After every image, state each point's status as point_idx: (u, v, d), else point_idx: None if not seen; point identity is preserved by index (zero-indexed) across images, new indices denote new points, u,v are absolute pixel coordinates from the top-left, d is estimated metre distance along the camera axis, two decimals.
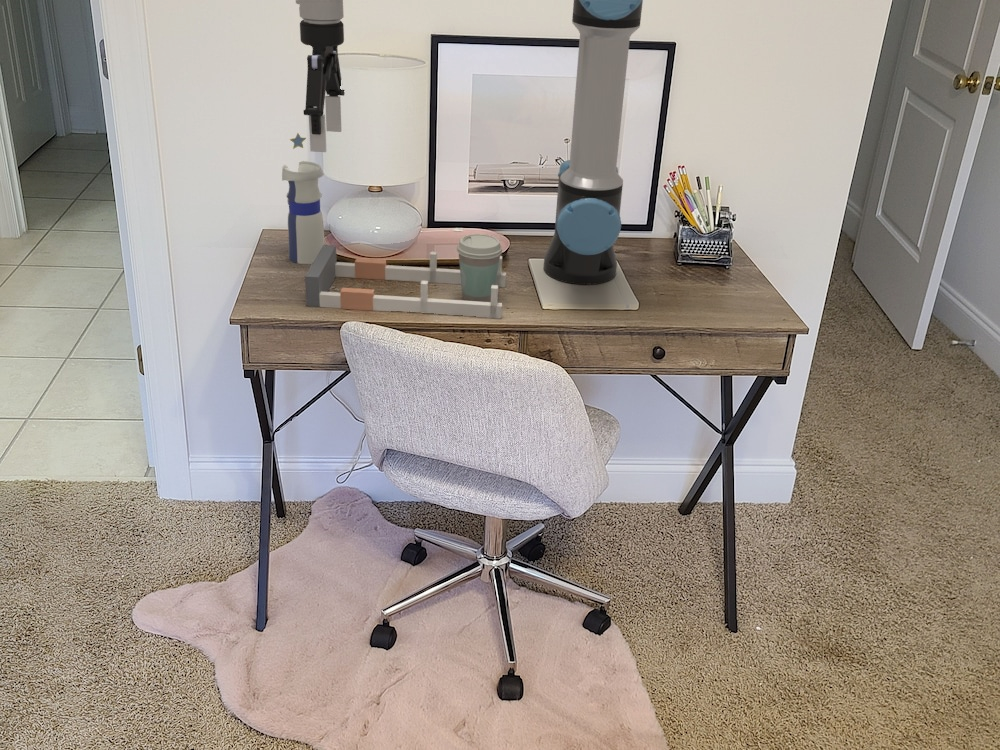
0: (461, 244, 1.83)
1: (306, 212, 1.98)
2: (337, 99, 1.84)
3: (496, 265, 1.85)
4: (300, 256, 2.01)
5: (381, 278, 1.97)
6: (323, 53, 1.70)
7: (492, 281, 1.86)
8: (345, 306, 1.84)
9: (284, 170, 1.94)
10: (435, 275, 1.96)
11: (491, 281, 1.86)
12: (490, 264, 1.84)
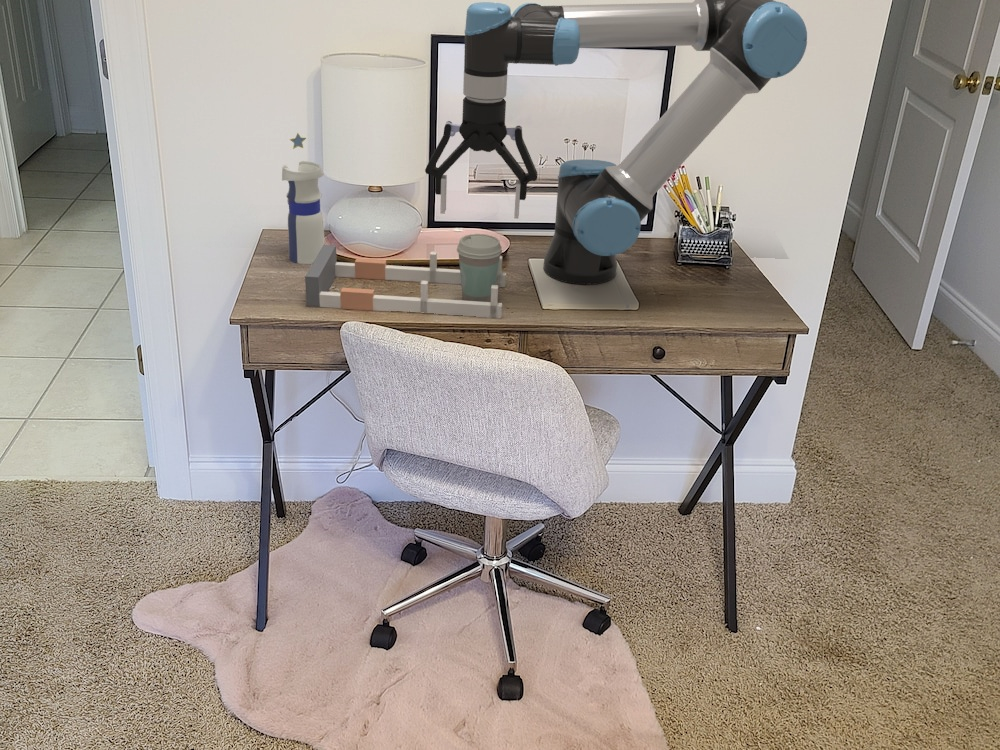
0: (461, 244, 1.83)
1: (306, 212, 1.98)
2: (516, 185, 1.78)
3: (496, 265, 1.85)
4: (300, 256, 2.01)
5: (381, 278, 1.97)
6: (462, 125, 1.74)
7: (492, 281, 1.86)
8: (345, 306, 1.84)
9: (284, 170, 1.94)
10: (435, 275, 1.96)
11: (491, 281, 1.86)
12: (490, 264, 1.84)
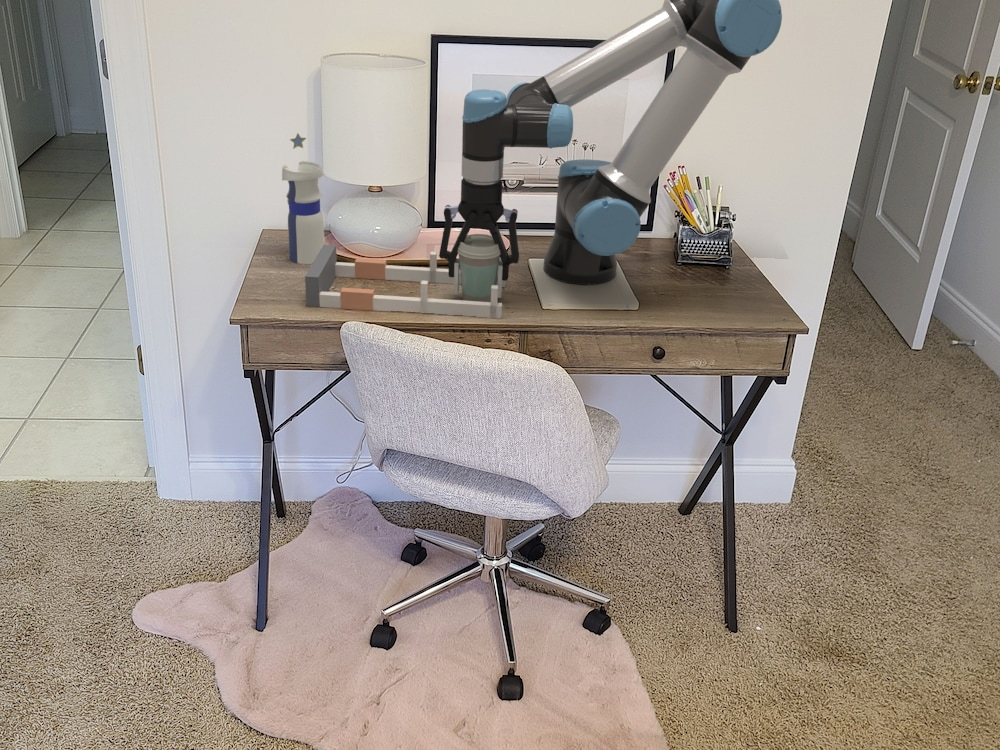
0: (461, 244, 1.84)
1: (306, 212, 1.98)
2: (498, 267, 1.86)
3: (496, 265, 1.85)
4: (300, 256, 2.01)
5: (381, 278, 1.97)
6: (459, 206, 1.81)
7: (492, 281, 1.86)
8: (345, 306, 1.84)
9: (284, 170, 1.94)
10: (435, 275, 1.96)
11: (491, 281, 1.86)
12: (490, 264, 1.84)
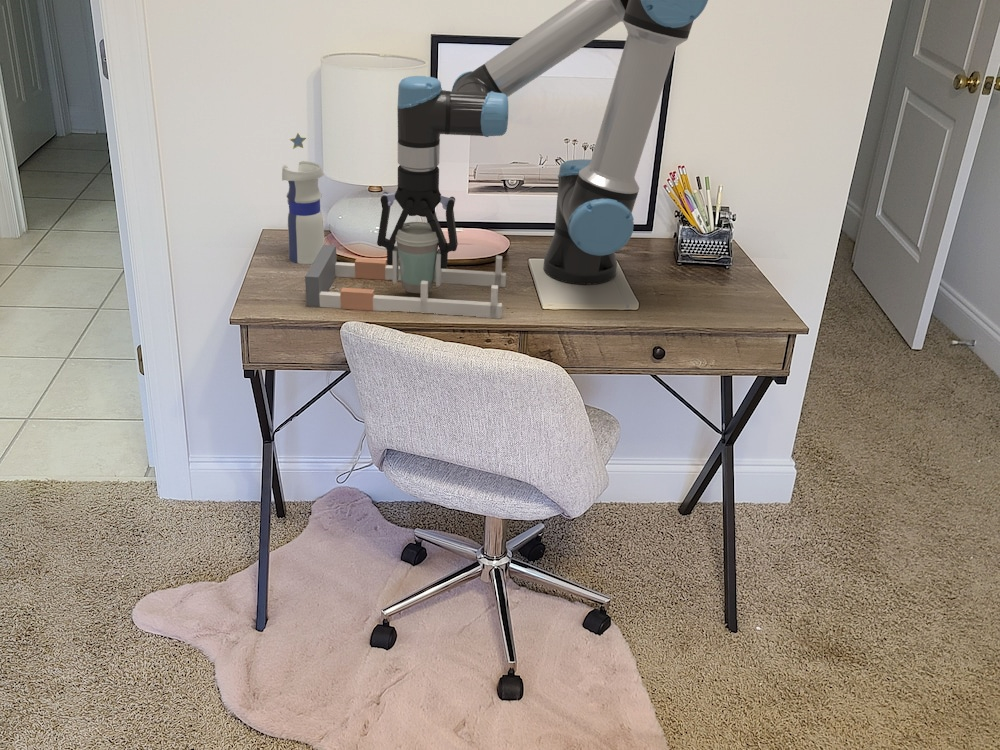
0: (398, 231, 1.83)
1: (306, 212, 1.98)
2: None
3: (434, 253, 1.85)
4: (300, 256, 2.01)
5: (381, 278, 1.97)
6: (396, 193, 1.80)
7: (430, 269, 1.86)
8: (345, 306, 1.84)
9: (284, 170, 1.94)
10: (435, 275, 1.96)
11: (429, 269, 1.86)
12: (427, 252, 1.83)
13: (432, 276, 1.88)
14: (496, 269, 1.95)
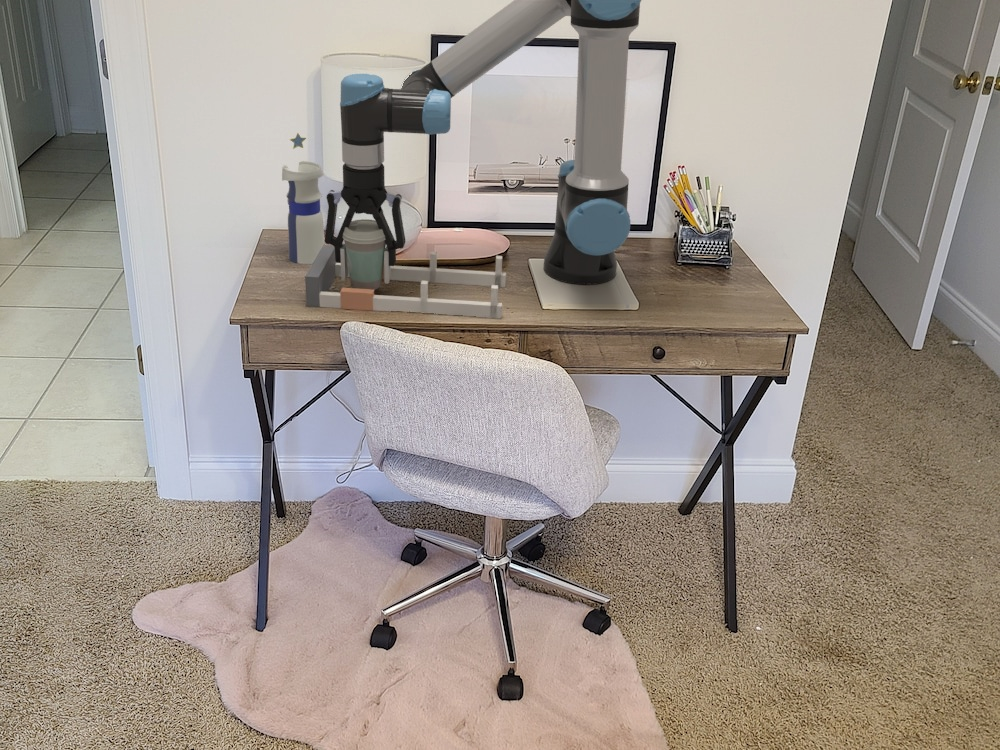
0: (345, 229, 1.83)
1: (306, 212, 1.98)
2: (384, 252, 1.86)
3: (382, 250, 1.85)
4: (300, 256, 2.01)
5: None
6: None
7: (378, 266, 1.86)
8: (345, 306, 1.84)
9: (284, 170, 1.94)
10: (435, 275, 1.96)
11: (377, 266, 1.86)
12: (374, 249, 1.84)
13: (380, 273, 1.88)
14: (496, 269, 1.95)
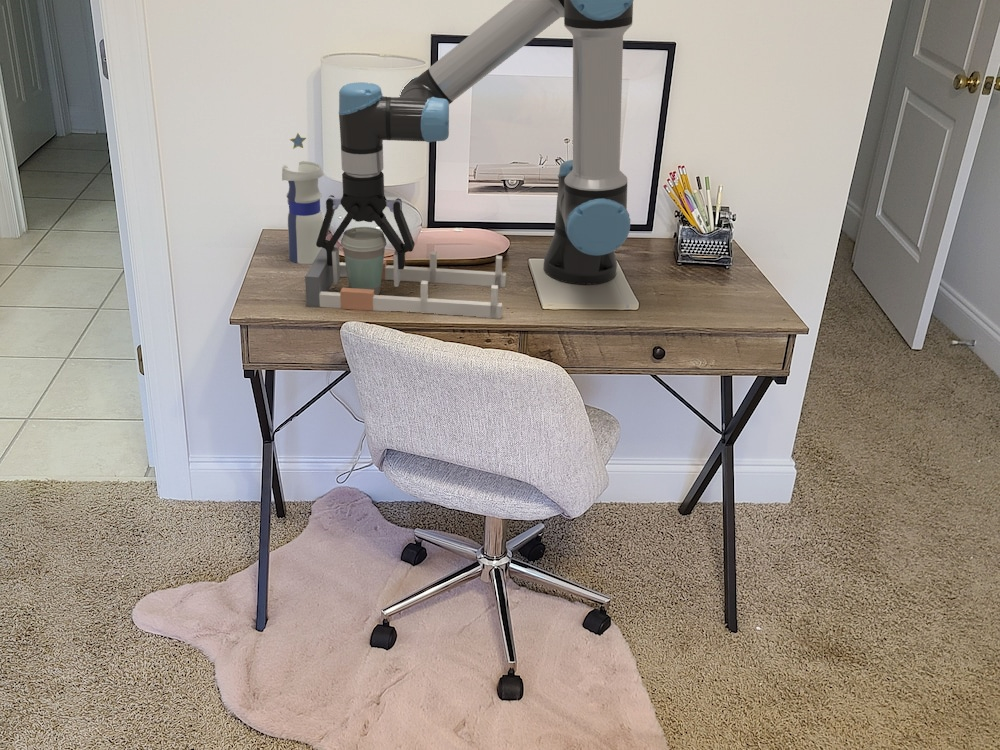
0: (344, 237, 1.84)
1: (306, 212, 1.98)
2: None
3: (380, 258, 1.86)
4: (300, 256, 2.01)
5: None
6: (342, 198, 1.81)
7: (376, 274, 1.87)
8: (345, 306, 1.84)
9: (284, 170, 1.94)
10: (435, 275, 1.96)
11: (375, 273, 1.87)
12: (373, 257, 1.84)
13: (379, 281, 1.89)
14: (496, 269, 1.95)
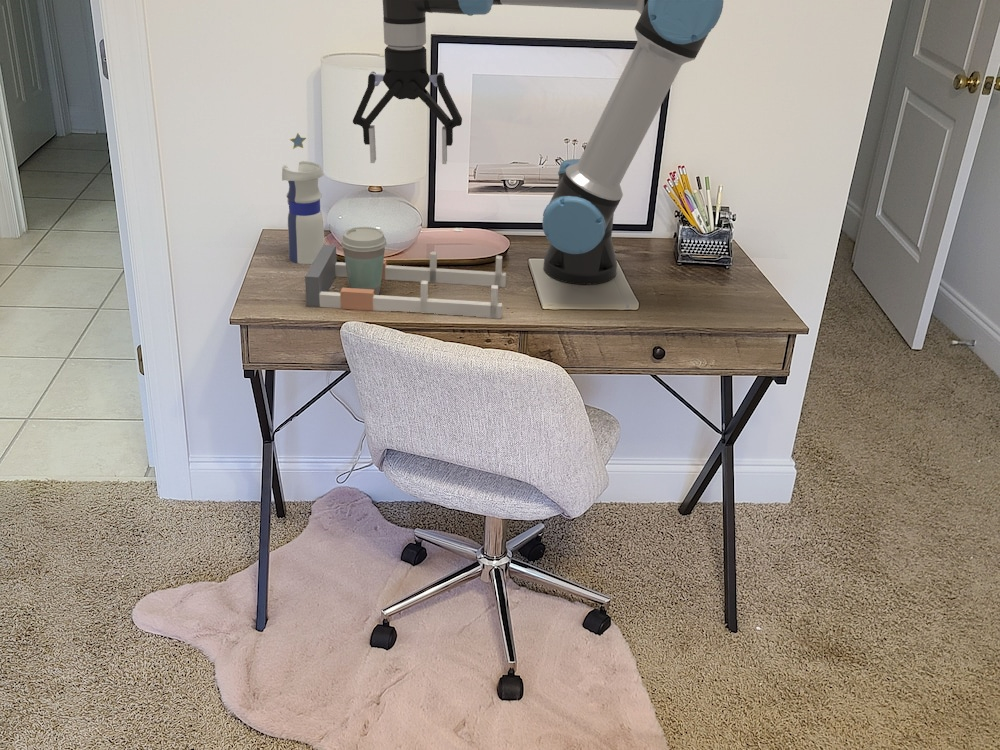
0: (344, 237, 1.84)
1: (306, 212, 1.98)
2: None
3: (380, 258, 1.86)
4: (300, 256, 2.01)
5: None
6: (385, 74, 1.79)
7: (376, 274, 1.87)
8: (345, 306, 1.84)
9: (284, 170, 1.94)
10: (435, 275, 1.96)
11: (375, 273, 1.87)
12: (373, 257, 1.84)
13: (379, 281, 1.89)
14: (496, 269, 1.95)
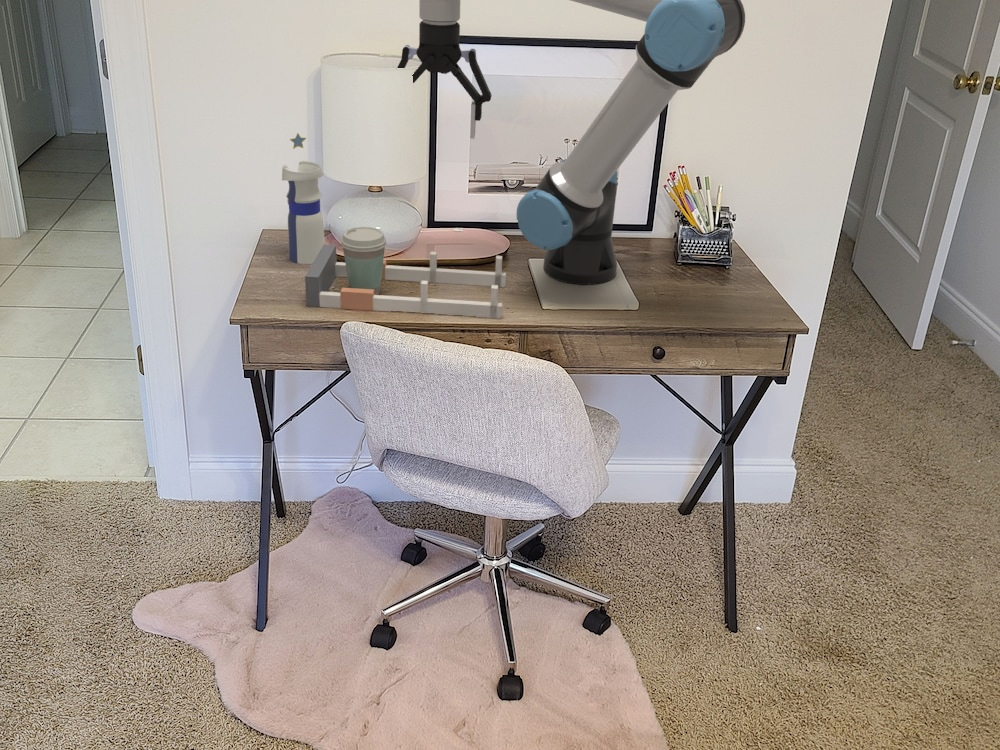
0: (344, 237, 1.84)
1: (306, 212, 1.98)
2: (471, 106, 1.89)
3: (380, 258, 1.86)
4: (300, 256, 2.01)
5: (381, 278, 1.97)
6: (419, 48, 1.85)
7: (376, 274, 1.87)
8: (345, 306, 1.84)
9: (284, 170, 1.94)
10: (435, 275, 1.96)
11: (375, 273, 1.87)
12: (373, 257, 1.84)
13: (379, 281, 1.89)
14: (496, 269, 1.95)
